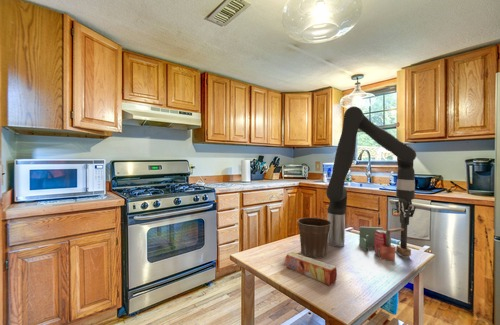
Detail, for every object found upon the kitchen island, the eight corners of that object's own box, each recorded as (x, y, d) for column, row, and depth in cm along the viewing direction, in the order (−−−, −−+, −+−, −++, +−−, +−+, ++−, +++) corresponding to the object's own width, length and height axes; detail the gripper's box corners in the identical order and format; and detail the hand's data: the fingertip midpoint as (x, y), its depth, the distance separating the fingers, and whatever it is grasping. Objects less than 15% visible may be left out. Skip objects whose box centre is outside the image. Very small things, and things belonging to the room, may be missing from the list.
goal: (366, 251, 121) (366, 232, 121) (359, 244, 130) (359, 226, 130) (390, 252, 120) (391, 233, 120) (381, 245, 129) (382, 227, 129)
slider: (381, 259, 111) (382, 213, 110) (373, 252, 119) (374, 209, 119) (415, 261, 109) (416, 214, 109) (404, 253, 118) (406, 210, 117)
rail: (403, 258, 113) (403, 256, 113) (387, 246, 128) (387, 244, 128) (409, 258, 113) (409, 256, 113) (393, 246, 128) (393, 244, 128)
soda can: (388, 253, 118) (389, 229, 118) (392, 259, 112) (392, 234, 112) (372, 251, 121) (373, 228, 121) (375, 256, 114) (376, 232, 114)
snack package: (283, 268, 101) (283, 252, 101) (292, 263, 106) (293, 248, 106) (329, 288, 86) (330, 270, 86) (338, 282, 90) (338, 264, 90)
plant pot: (290, 253, 117) (291, 221, 116) (306, 244, 129) (306, 215, 128) (321, 263, 106) (322, 228, 105) (335, 253, 118) (336, 221, 117)
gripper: (390, 186, 122) (389, 219, 122) (405, 190, 108) (404, 227, 108) (405, 187, 121) (404, 220, 122) (422, 190, 107) (421, 228, 108)
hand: (404, 223), depth 115 cm, fingers closed on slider, 2 cm apart
